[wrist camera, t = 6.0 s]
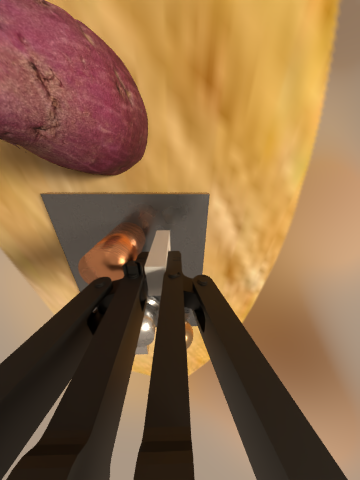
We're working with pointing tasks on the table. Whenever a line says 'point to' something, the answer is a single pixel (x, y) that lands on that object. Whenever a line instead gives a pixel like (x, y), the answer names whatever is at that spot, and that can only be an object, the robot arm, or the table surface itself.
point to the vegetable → (66, 92)
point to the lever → (119, 269)
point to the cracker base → (140, 213)
